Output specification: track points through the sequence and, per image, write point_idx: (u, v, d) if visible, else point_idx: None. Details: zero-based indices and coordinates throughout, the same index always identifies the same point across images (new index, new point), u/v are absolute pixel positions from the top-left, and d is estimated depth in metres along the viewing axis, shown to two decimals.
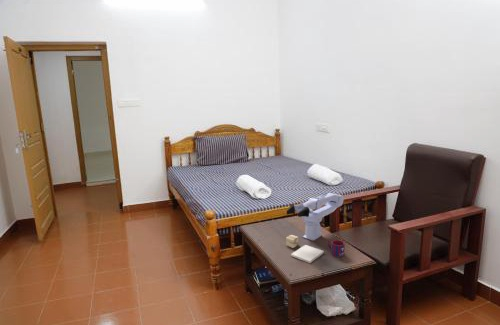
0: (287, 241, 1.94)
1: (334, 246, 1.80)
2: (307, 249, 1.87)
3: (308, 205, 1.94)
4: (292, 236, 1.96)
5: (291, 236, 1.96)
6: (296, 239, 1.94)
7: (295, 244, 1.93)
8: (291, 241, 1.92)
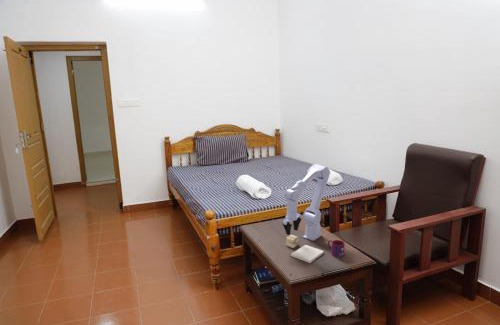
0: (287, 241, 1.94)
1: (334, 246, 1.80)
2: (307, 249, 1.87)
3: (287, 212, 1.91)
4: (292, 236, 1.96)
5: (291, 236, 1.96)
6: (296, 239, 1.94)
7: (295, 244, 1.93)
8: (291, 241, 1.92)
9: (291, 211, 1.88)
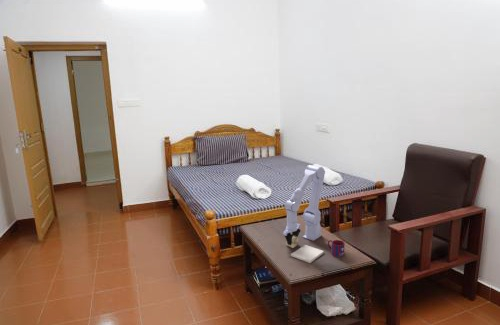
0: None
1: (334, 246, 1.80)
2: (307, 249, 1.87)
3: (287, 223, 1.92)
4: None
5: None
6: (296, 239, 1.94)
7: (294, 244, 1.93)
8: None
9: (291, 222, 1.90)
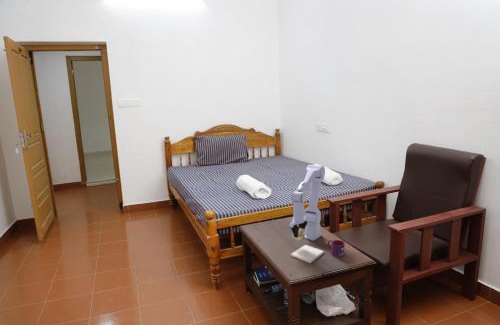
0: None
1: (334, 246, 1.80)
2: (307, 249, 1.87)
3: (293, 214, 1.85)
4: None
5: None
6: (302, 231, 1.87)
7: (301, 237, 1.87)
8: None
9: (300, 213, 1.83)
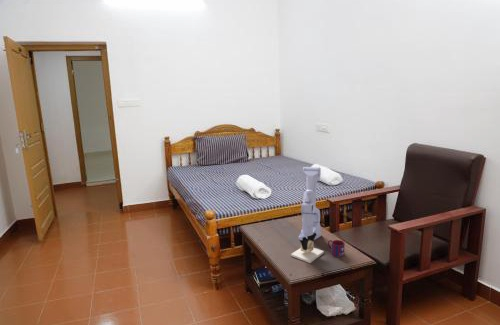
0: None
1: (334, 246, 1.80)
2: None
3: (302, 226, 1.80)
4: None
5: None
6: (311, 243, 1.82)
7: (310, 249, 1.81)
8: None
9: (310, 225, 1.78)
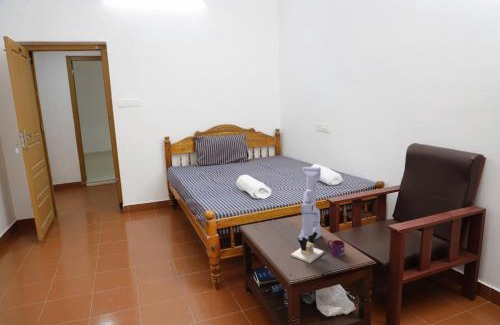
0: None
1: (334, 246, 1.80)
2: None
3: (302, 226, 1.80)
4: (307, 243, 1.84)
5: None
6: (311, 246, 1.82)
7: (310, 252, 1.82)
8: (306, 248, 1.81)
9: (310, 225, 1.78)
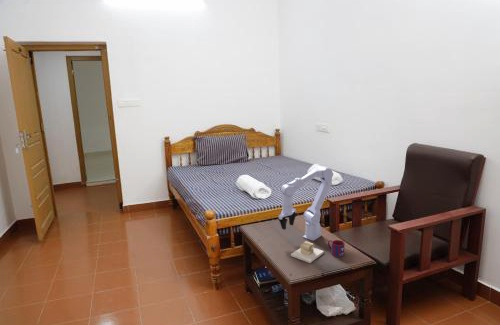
0: (302, 248, 1.83)
1: (334, 246, 1.80)
2: None
3: None
4: (307, 243, 1.84)
5: (306, 243, 1.84)
6: (311, 246, 1.82)
7: (310, 252, 1.82)
8: (306, 248, 1.81)
9: (285, 206, 1.92)
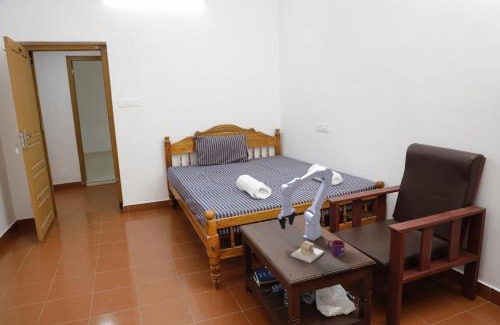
0: (302, 248, 1.83)
1: (334, 246, 1.80)
2: None
3: (282, 206, 1.95)
4: (307, 243, 1.84)
5: (306, 243, 1.84)
6: (311, 246, 1.82)
7: (310, 252, 1.82)
8: (306, 248, 1.81)
9: (284, 205, 1.93)
